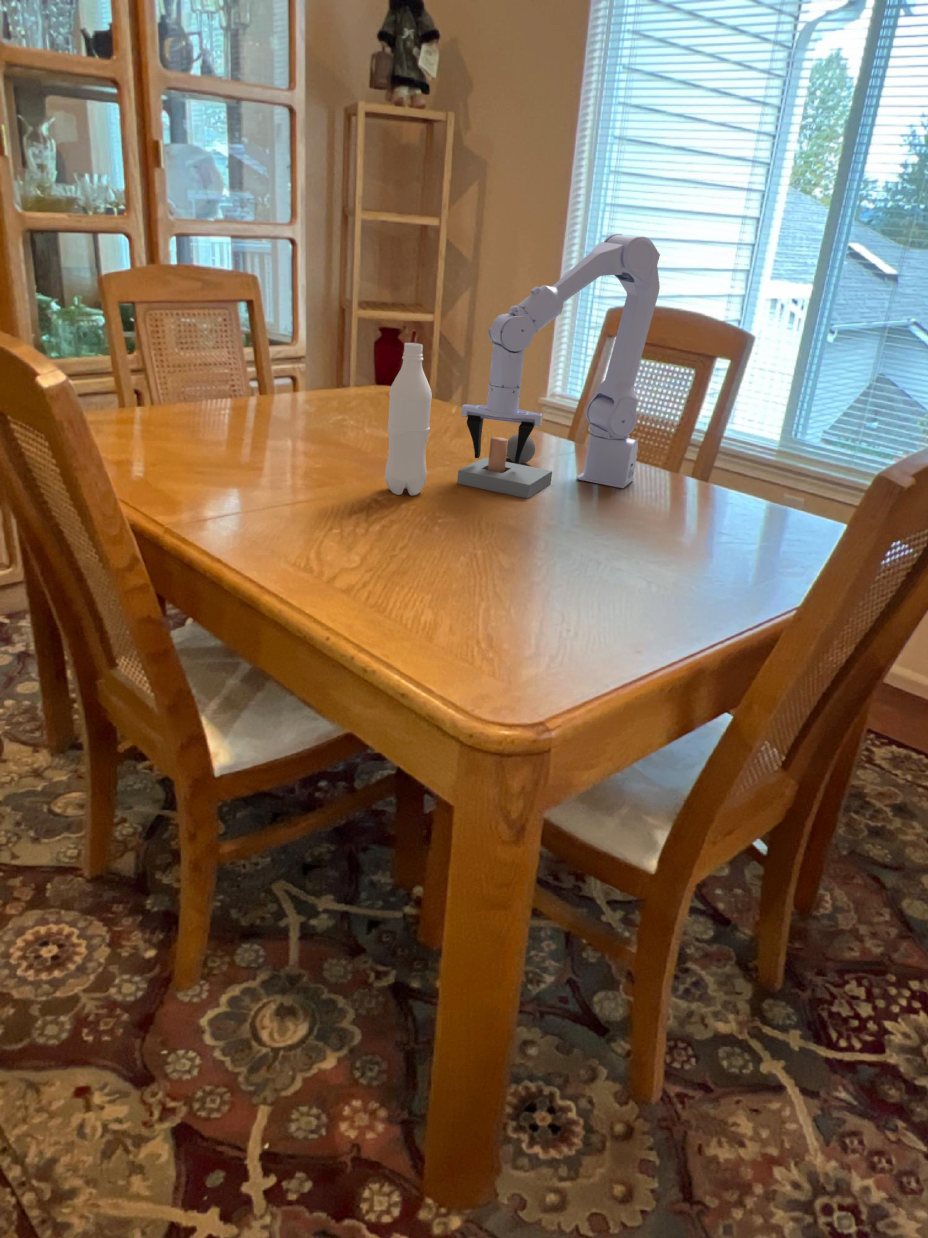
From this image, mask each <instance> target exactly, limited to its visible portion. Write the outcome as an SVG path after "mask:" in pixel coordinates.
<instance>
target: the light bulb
mask: <svg viewBox="0 0 928 1238" xmlns="http://www.w3.org/2000/svg"><path fill="white" fill-rule="evenodd" d="M517 444H518V433H516V434H513V435H512V436H511V437H510V438H509V439H508V446H507V455H506V458H508V459H509V460H510V461H511V462H512V463H515V456H516V450H517ZM535 454H536V444H535V441H534V440H533V438H532V437H531V436H529V437H528V438H527V440H526V443H525V445H524V447H523V450H522V453H521V456H520V461H519V463H517V464H520V465H525V464H526V463H528V462H530V461H531V460H532V459H533V457H534V456H535Z"/></svg>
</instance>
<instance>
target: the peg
mask: <svg viewBox="0 0 928 1238" xmlns="http://www.w3.org/2000/svg"><path fill="white" fill-rule="evenodd" d="M508 440H509V439H507V438H505V437H498V436H493V437H491V438H490V443H489V453H488V458H489V462H488V470H489V471H494V472H499V473H504V472H505V464H506V462H507V456H506V455H507V446H508Z"/></svg>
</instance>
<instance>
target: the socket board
mask: <svg viewBox="0 0 928 1238" xmlns="http://www.w3.org/2000/svg"><path fill="white" fill-rule="evenodd" d="M488 462H489V457H483V458H481V459H480V458H479V460H476V461H474V462H473V463H471V464H468V465H466V466H464V467H462V468H460V469H458V470H457V481H456V483H457V484H459V485H464V486H468V487H473V488H476V489H482V490H486V491H491V492H496V493H500V494H503V495H504V494H505V495H509V496H514V497H519V498H524V499H530V498H531V497H533V496H534V495H535V494H537V493H539V492H540V491H542V490H544V489H545V488H546V487H549V486H550V485H551V484H552V478H553V471H552V470H549V469H545V468H539V467H535V466H530V465H526V464H518V463H515V462H509V461H506V464H505V472H504V473H499V472H494V471H489V470H488Z"/></svg>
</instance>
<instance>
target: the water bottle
mask: <svg viewBox="0 0 928 1238" xmlns="http://www.w3.org/2000/svg"><path fill="white" fill-rule="evenodd" d="M403 346H404V349H403V350H404V351H403V354H402V357H401V359H402V360H403V361H402V365H401V368H400V370H399V371H398V373H397V375H396V376H395V378H394V381H393V382H392V383H391V386H390V389H389V392H388V393H389V394H388V396H389V401H388V403H389V405H388V406H389V408H388V423H387V435H388V444H389V445H388V456H387V461H386V464H385V467H384V468H385V470H384V476H385V477H384V478H385V485H386V486H387V488H388V490H390V491H391V493H393V495H398V496H400V495H402V494H403V492H404V491H405V489H406V490H407V492H408V495H410V496H411V497H412V496H413V497H414V496H417V495H418V494H420V492H421V491H422V490H423V489H424V486H425V484H426V481H427V475H428V473H427V471H428V470H427V463H426V448H427V443H428V438H429V434H430V429H431V428H430V422H431V421H430V417H431V406H432V405H431V403H432V399H433V396H432V394H433V393H432V390H431V386H430V383H429V382H428V378H427V376H426V374H425V372H424V368H423V361H424V357H423V356H424V354H423V350H424V348H423V347H424V346H423V344H421V343H417V342H404V345H403Z"/></svg>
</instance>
